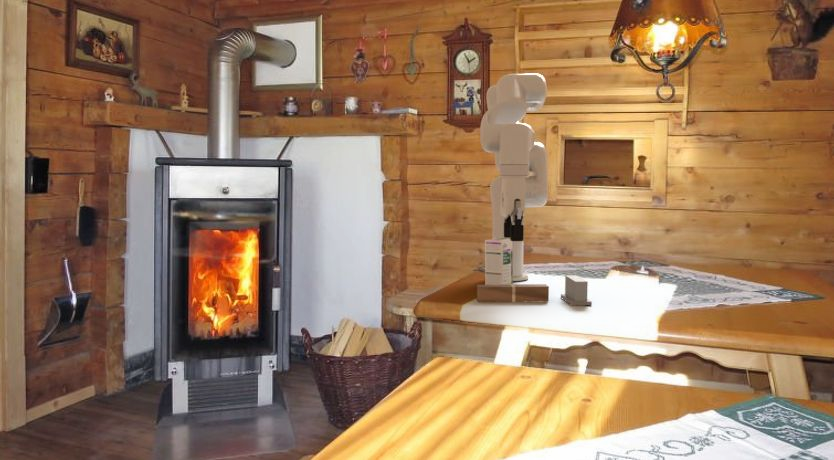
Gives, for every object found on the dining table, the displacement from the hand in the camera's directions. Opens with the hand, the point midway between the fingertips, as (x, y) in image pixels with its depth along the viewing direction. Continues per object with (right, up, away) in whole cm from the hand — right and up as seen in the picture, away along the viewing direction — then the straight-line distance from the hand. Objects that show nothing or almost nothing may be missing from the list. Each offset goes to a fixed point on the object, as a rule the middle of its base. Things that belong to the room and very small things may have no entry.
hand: (513, 239), depth 181 cm
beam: (0, -16, +2) cm, 16 cm away
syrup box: (-2, -15, +17) cm, 23 cm away
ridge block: (+16, -16, 0) cm, 23 cm away
